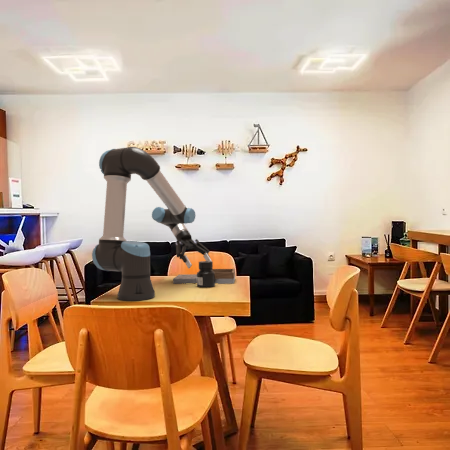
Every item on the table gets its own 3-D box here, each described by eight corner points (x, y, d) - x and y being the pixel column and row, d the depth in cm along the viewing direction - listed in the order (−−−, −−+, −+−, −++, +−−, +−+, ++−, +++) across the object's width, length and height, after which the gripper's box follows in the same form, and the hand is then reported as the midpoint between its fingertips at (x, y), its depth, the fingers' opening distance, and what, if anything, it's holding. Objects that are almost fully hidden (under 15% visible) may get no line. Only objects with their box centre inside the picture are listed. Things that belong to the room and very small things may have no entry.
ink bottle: (196, 284, 192) (196, 260, 192) (214, 284, 192) (214, 260, 192) (196, 288, 182) (196, 262, 182) (215, 287, 183) (215, 262, 182)
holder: (233, 278, 194) (233, 272, 194) (206, 278, 195) (206, 272, 195) (235, 274, 210) (234, 268, 210) (209, 274, 211) (209, 268, 211)
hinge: (233, 283, 193) (233, 278, 193) (172, 284, 195) (172, 278, 195) (235, 278, 211) (235, 273, 211) (179, 278, 213) (179, 273, 213)
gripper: (197, 238, 213) (215, 267, 203) (159, 240, 196) (177, 272, 185) (203, 228, 209) (222, 258, 199) (165, 230, 192) (184, 262, 181)
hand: (200, 265), depth 192 cm, fingers open, 13 cm apart
